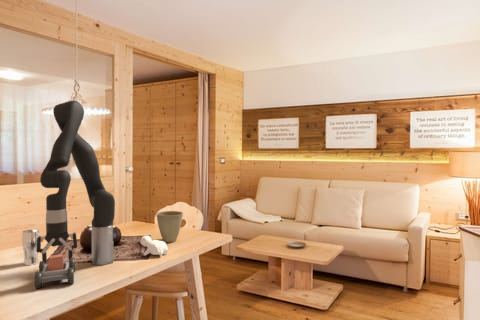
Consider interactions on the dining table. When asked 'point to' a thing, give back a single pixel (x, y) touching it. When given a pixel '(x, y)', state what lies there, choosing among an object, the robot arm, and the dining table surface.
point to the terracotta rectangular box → (55, 262)
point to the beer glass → (30, 246)
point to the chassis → (55, 273)
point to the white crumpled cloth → (154, 246)
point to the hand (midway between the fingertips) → (57, 260)
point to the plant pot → (169, 224)
